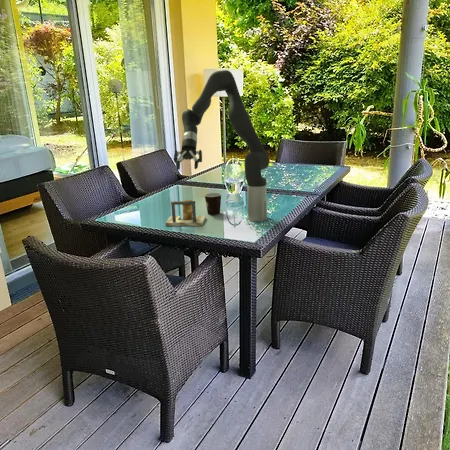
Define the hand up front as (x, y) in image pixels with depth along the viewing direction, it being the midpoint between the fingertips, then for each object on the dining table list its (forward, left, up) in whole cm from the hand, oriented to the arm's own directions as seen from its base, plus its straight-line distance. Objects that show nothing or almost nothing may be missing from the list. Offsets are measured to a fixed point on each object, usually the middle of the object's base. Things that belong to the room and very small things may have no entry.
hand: (186, 168), depth 220 cm
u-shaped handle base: (0, +11, -25) cm, 27 cm away
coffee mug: (-12, -2, -25) cm, 28 cm away
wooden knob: (0, +8, -25) cm, 26 cm away
